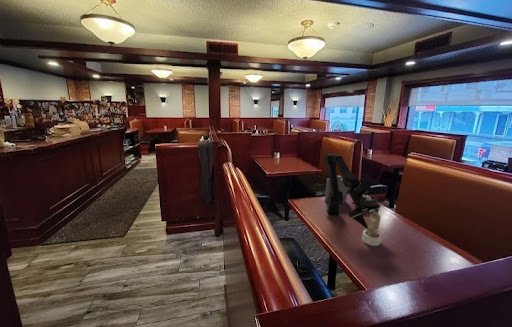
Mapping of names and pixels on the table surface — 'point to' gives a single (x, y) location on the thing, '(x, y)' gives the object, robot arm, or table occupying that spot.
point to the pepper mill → (373, 224)
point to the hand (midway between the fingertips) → (373, 225)
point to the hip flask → (340, 186)
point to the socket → (371, 239)
